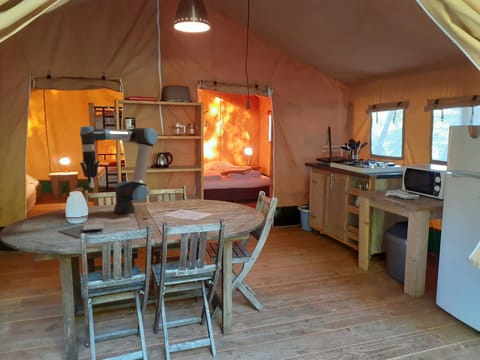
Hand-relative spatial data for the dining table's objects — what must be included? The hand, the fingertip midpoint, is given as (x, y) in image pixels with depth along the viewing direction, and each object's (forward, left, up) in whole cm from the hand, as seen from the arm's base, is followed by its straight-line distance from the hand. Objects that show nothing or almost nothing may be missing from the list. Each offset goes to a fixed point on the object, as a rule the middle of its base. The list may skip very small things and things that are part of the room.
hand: (91, 187), depth 240 cm
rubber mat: (+13, +6, -26) cm, 29 cm away
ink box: (+4, +7, -24) cm, 25 cm away
